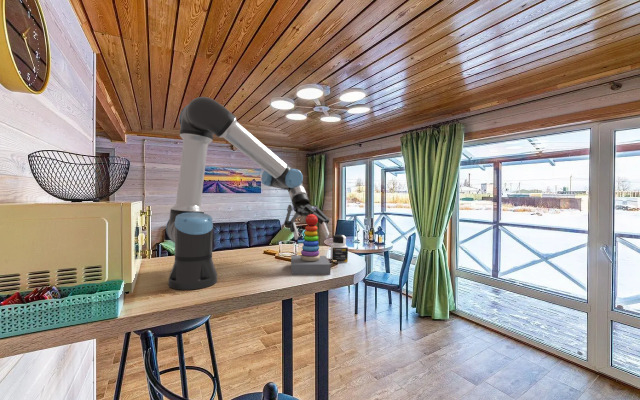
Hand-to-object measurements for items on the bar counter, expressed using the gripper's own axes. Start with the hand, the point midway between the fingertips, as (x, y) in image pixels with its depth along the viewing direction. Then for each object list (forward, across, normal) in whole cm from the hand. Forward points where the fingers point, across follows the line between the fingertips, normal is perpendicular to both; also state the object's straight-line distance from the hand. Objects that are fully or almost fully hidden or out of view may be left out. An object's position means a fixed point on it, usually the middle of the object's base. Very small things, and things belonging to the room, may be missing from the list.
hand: (312, 237), depth 117 cm
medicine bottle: (+2, -19, -18) cm, 26 cm away
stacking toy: (+5, 0, -9) cm, 10 cm away
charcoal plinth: (+8, 0, -11) cm, 14 cm away
